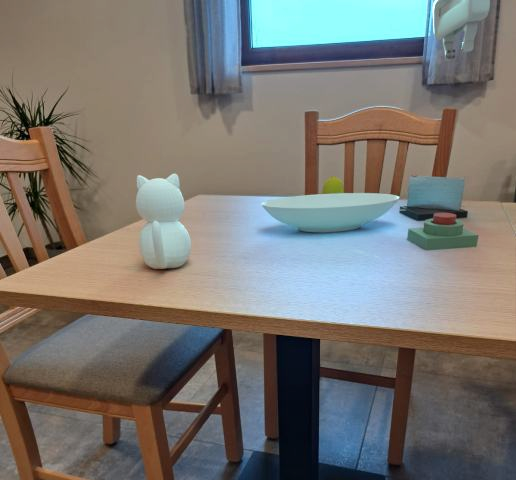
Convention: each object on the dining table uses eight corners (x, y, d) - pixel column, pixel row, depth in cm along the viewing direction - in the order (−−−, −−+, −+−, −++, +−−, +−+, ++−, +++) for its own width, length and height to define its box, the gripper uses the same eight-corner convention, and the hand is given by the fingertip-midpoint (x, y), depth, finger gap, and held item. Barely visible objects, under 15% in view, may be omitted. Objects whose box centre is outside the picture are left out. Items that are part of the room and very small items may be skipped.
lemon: (322, 206, 124) (323, 174, 120) (343, 206, 123) (345, 174, 119) (320, 210, 119) (322, 177, 115) (342, 210, 118) (344, 177, 114)
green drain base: (454, 236, 93) (457, 215, 91) (476, 246, 86) (480, 225, 84) (406, 239, 92) (409, 219, 90) (425, 250, 85) (428, 228, 83)
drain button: (448, 221, 89) (449, 212, 88) (459, 226, 85) (460, 216, 85) (428, 222, 88) (429, 213, 88) (438, 227, 85) (440, 217, 84)
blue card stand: (460, 209, 107) (465, 176, 104) (459, 211, 106) (464, 177, 103) (408, 205, 113) (411, 174, 109) (406, 207, 112) (410, 175, 108)
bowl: (267, 241, 93) (266, 211, 91) (257, 225, 107) (256, 197, 104) (409, 232, 96) (412, 202, 94) (382, 217, 110) (385, 190, 107)
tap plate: (446, 206, 118) (447, 199, 117) (483, 220, 104) (484, 212, 103) (386, 210, 116) (386, 203, 115) (415, 224, 102) (416, 217, 101)
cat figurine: (193, 254, 87) (185, 170, 80) (191, 275, 76) (182, 180, 69) (145, 256, 87) (132, 172, 80) (136, 278, 76) (121, 183, 69)
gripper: (502, -48, 82) (496, 43, 87) (457, -12, 100) (455, 61, 106) (466, -42, 82) (462, 48, 87) (428, -7, 101) (427, 65, 106)
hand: (458, 56), depth 97 cm, fingers open, 8 cm apart
